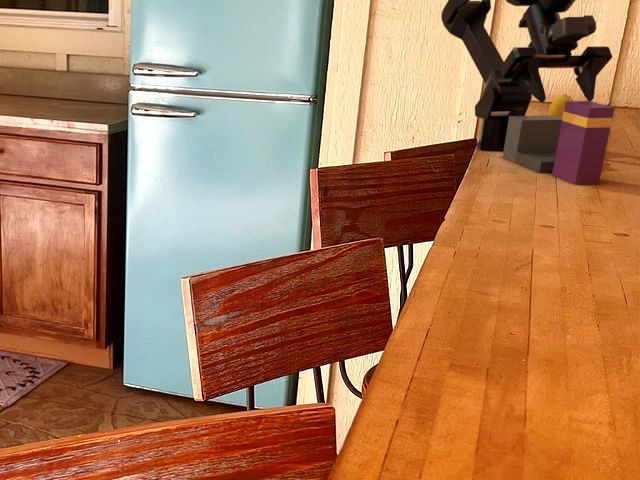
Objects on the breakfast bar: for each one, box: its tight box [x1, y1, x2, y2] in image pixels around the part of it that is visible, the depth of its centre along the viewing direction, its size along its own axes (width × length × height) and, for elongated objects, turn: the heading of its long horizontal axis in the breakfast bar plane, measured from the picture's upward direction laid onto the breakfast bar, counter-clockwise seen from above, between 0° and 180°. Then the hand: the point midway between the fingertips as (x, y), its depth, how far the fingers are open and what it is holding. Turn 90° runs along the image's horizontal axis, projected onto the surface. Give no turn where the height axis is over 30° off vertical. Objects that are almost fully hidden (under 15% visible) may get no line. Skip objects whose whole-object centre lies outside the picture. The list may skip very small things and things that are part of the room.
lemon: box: [547, 94, 574, 117], centre depth 202 cm, size 6×6×8 cm
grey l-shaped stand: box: [502, 114, 562, 174], centre depth 168 cm, size 14×10×8 cm
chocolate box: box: [551, 100, 615, 185], centre depth 155 cm, size 5×8×13 cm, turn 8°
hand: (567, 100), depth 159 cm, fingers open, 9 cm apart
